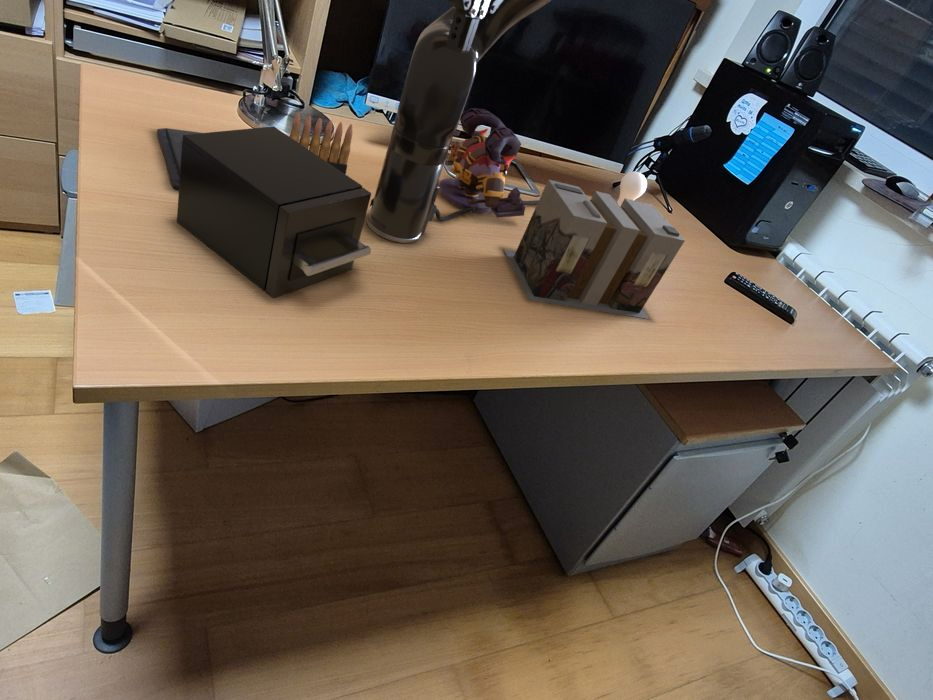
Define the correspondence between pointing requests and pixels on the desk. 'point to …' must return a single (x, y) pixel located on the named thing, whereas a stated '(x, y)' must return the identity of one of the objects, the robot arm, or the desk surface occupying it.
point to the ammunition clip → (324, 141)
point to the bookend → (593, 251)
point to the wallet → (172, 151)
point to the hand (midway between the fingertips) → (457, 50)
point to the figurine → (482, 167)
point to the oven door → (317, 240)
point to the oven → (248, 191)
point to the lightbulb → (632, 186)
